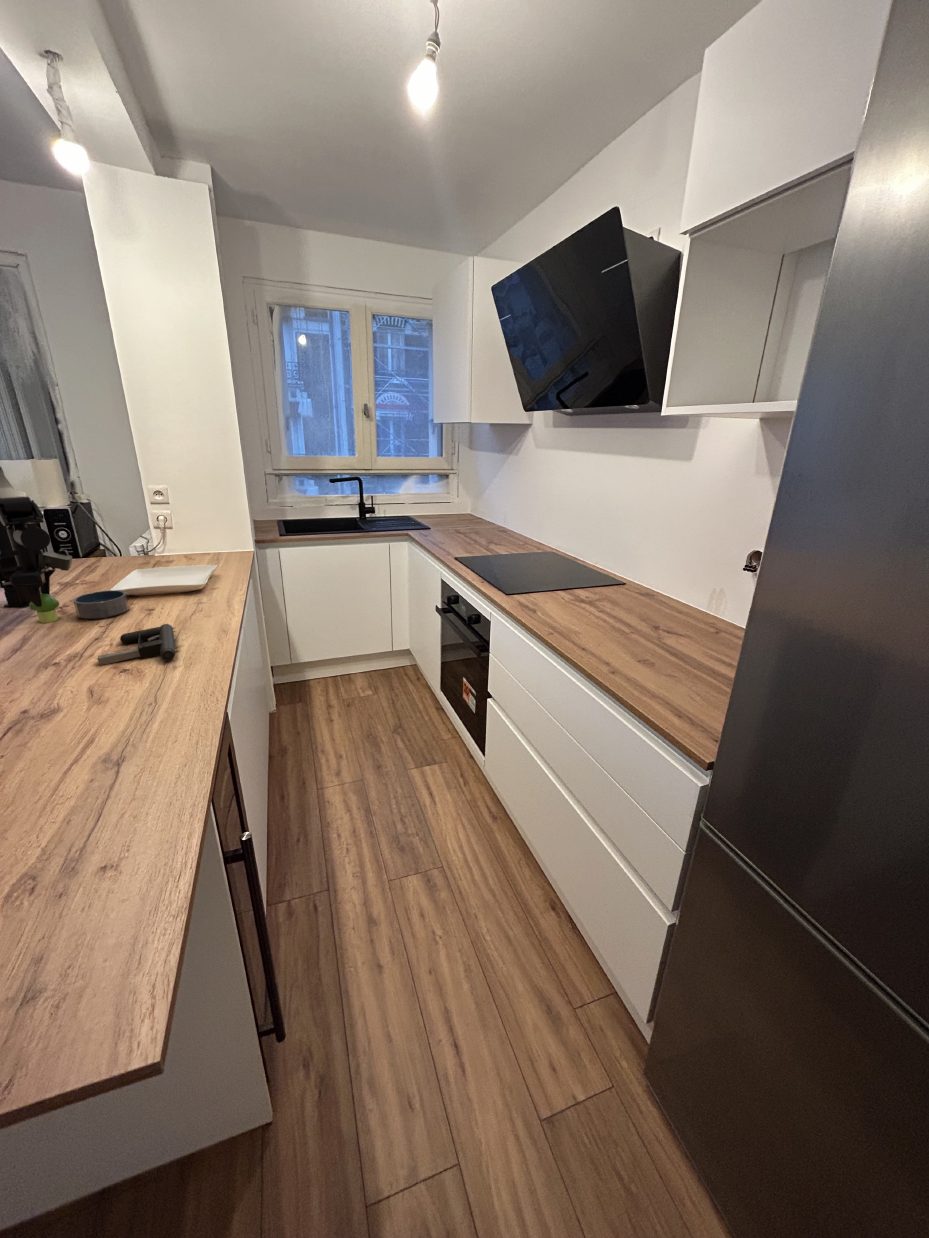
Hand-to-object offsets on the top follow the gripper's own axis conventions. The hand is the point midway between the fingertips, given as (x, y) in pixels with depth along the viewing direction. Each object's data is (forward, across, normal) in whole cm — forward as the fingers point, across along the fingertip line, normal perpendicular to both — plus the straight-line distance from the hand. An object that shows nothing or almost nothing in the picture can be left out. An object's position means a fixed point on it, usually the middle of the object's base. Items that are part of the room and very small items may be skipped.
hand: (43, 601), depth 132 cm
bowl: (+5, 0, -13) cm, 14 cm away
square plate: (+6, +23, -29) cm, 38 cm away
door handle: (+6, -36, -24) cm, 43 cm away
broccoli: (+6, 0, 0) cm, 6 cm away
